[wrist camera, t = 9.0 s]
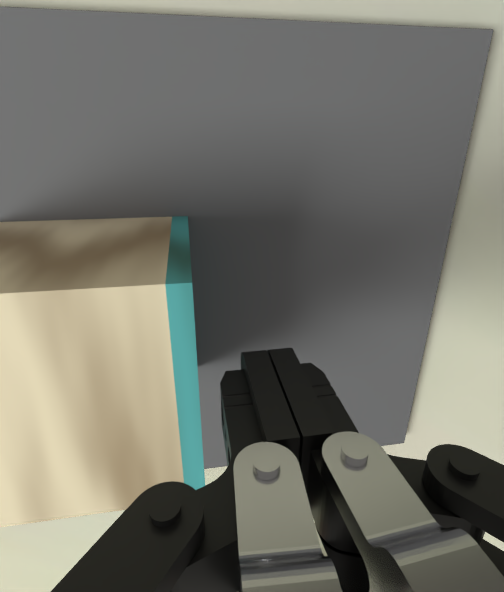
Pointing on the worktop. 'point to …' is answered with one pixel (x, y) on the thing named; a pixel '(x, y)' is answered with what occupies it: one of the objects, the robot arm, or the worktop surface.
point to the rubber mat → (258, 176)
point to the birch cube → (95, 365)
